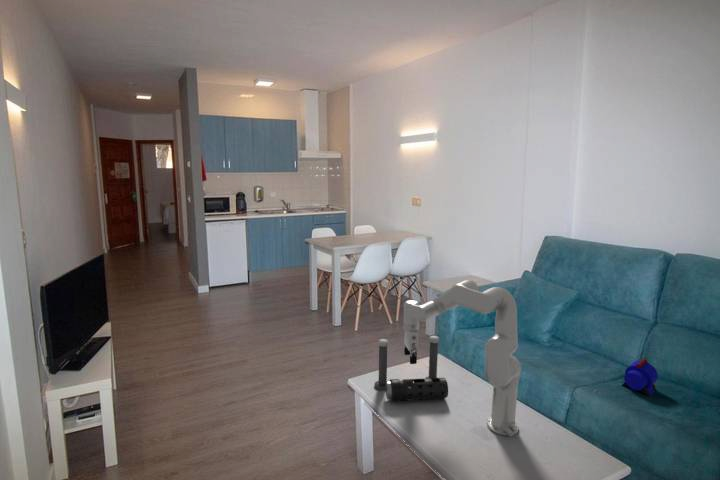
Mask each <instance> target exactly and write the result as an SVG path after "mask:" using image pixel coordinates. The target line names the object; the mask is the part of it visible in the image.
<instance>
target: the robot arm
mask: <svg viewBox="0 0 720 480" xmlns="http://www.w3.org/2000/svg"><path fill="white" fill-rule="evenodd" d="M459 306H460V307H463V308H464V309H465V308H466V309H468V310H469V311H470V310H471V311H472V312H473V311H474V312H476V313H479V314H484V315H487V314H490V313H492V312H494V311H496V313H495V319H494V326H495V327H494V335H493V336H492V337H490V338H489V339H488V340H487V341H486V344H485V348H484V366H485V367H484V368H485V369H484V370H485V377H486V379H487V381H488V382H489V384H490V385H491V386H492V387H493V388H492V400H491V402H492V403H491V413H490V414H491V415H490V417H488V418H487V421H486V424H487V425H486V426H487V427H488V429H489V430H490V431H492V432H493V433H495V434H498V435H500V436H501V435H502V436H509V437H514V435H515V434H518V431H519V425H518V423H517V422H516V414H517V413H516V411H517V400H518V388H519V383H520V382H519V381H520V377H521V372H522V371H521V369H522V367H521V363H520V361H519V360H518V358H517V357H516V356H514V355H513V354H514V353H515V352H516V350H517V349H518V346H519V345H518V344H519V341H518V339H519V338H518V309H517V302H516V300H515V298H514V296H513V294H512V293H510V291H509V290H507V289H506V288H503V287H500V286H494V287H491V288H488V289H486V290H483V291H482V292H481V291H479V286H478V284H477V282H475V281H474V280H470V279H466V280H462V281H461V282H458V283H455V284H454V285H453V286H452V287H449V288H447V289H446V290H444V291H443V292H441V293H440V295H439V296H438V297H435V298H433V299H431V300H429V301H427V302H424V303H423V304H420V302H419V301H417V300H412V299H408V300H406V301H405V302H404V303H403V326H402V327H403V328H402V329H403V330H404V334H403V336H404V338H403V341H404V356H409V364H410V365H417V362H418V361H417V360H418V352H419V350H420V343H419V342H420V338H419V330H420V322H421V323H425V322H427V321H429V320H431V319H433V318H436V317H437V316H439V315H441V314H442V313H445V312H447V311H449V310H454V309H455V308H457V307H459Z"/></svg>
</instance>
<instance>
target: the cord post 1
mask: <svg viewBox="0 0 720 480" xmlns="http://www.w3.org/2000/svg"><path fill="white" fill-rule="evenodd" d="M388 342H389V341H388V339H386V338H381V339H379V340H378V380H376V381H375V382H374V388H375V390H378V391H382V392H386V381H388V380H387V379H388V378H387V377H388V345H389V343H388Z"/></svg>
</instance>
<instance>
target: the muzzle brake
mask: <svg viewBox="0 0 720 480" xmlns="http://www.w3.org/2000/svg"><path fill="white" fill-rule="evenodd" d="M385 396H386V399H387V400H390V401H391V402H395V401H396V402H399V401H400V402H406V401H408V400H409V401H410V400H421V401H422V400H439V399H440V400H441V399H442V400H443V399H446V398H448V396H449V386H448V380H447V379H446V377H437V378H426V377H425V378H409V379H408V378H406V379H402V380H401V379H399V378H393V379H391V378H390V379H389V380H387V381H386V391H385Z"/></svg>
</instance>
